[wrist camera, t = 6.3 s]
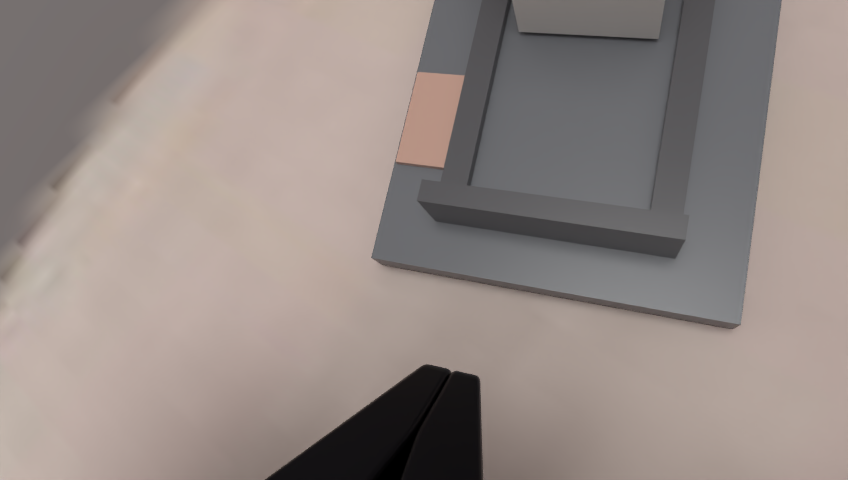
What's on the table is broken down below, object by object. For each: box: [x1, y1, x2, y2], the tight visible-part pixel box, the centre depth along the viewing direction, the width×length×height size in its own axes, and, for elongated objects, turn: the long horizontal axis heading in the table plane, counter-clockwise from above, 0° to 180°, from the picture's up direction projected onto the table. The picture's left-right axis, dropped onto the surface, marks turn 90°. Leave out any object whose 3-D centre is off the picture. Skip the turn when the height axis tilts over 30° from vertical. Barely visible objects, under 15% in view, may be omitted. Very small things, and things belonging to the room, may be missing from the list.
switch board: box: [371, 0, 781, 329], centre depth 18 cm, size 14×10×3 cm
